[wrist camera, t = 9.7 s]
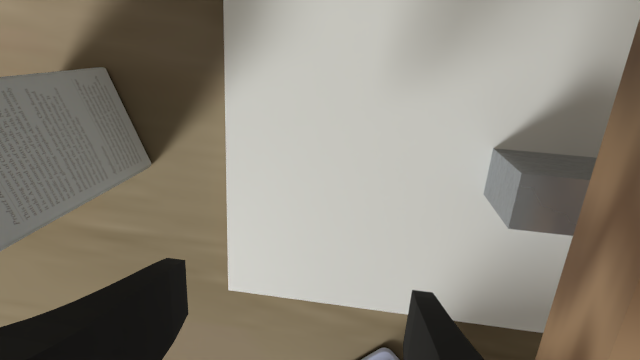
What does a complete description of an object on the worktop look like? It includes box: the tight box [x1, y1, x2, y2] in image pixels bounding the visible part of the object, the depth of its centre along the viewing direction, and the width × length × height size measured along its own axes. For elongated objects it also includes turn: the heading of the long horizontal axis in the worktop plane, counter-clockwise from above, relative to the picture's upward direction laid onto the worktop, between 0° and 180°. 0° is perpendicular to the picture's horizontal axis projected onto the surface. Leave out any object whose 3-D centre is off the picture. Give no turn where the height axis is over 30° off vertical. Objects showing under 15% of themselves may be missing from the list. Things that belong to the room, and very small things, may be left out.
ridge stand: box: [223, 0, 640, 333], centre depth 18 cm, size 24×18×5 cm
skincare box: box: [0, 67, 151, 251], centre depth 17 cm, size 6×4×12 cm
